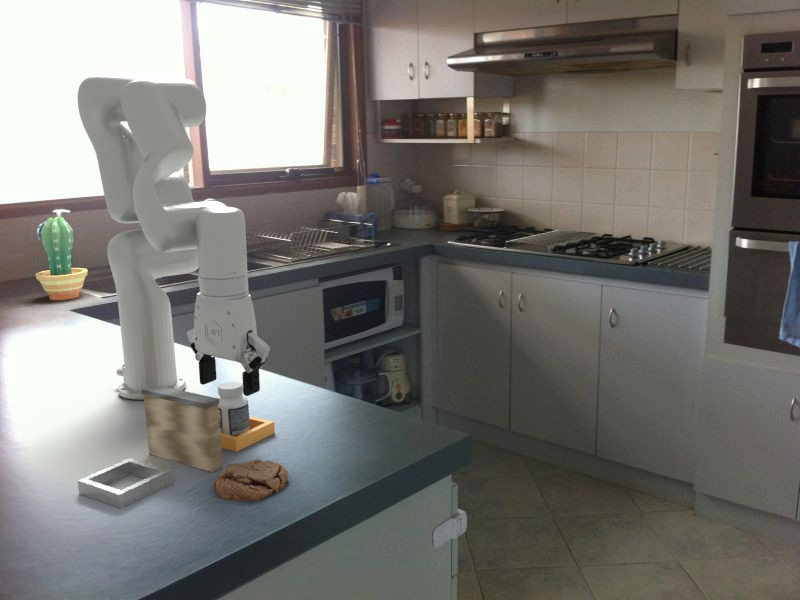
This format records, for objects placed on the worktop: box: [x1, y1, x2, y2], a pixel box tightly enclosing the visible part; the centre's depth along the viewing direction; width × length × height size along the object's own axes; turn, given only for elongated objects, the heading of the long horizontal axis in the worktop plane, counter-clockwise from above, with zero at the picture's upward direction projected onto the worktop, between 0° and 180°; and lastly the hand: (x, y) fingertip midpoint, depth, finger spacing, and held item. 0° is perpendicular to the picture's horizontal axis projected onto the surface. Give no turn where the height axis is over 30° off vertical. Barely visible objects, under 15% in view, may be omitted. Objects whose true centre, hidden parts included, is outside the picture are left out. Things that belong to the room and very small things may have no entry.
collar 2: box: [220, 415, 276, 452], centre depth 131 cm, size 9×9×2 cm
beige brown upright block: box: [141, 385, 224, 473], centre depth 121 cm, size 14×3×11 cm, turn 57°
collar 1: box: [77, 457, 174, 509], centre depth 113 cm, size 9×9×2 cm
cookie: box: [212, 459, 289, 502], centre depth 113 cm, size 10×11×3 cm
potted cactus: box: [35, 216, 88, 301], centre depth 248 cm, size 15×15×25 cm
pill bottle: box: [217, 381, 250, 437], centre depth 131 cm, size 5×5×9 cm
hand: (229, 387), depth 130 cm, fingers open, 9 cm apart
